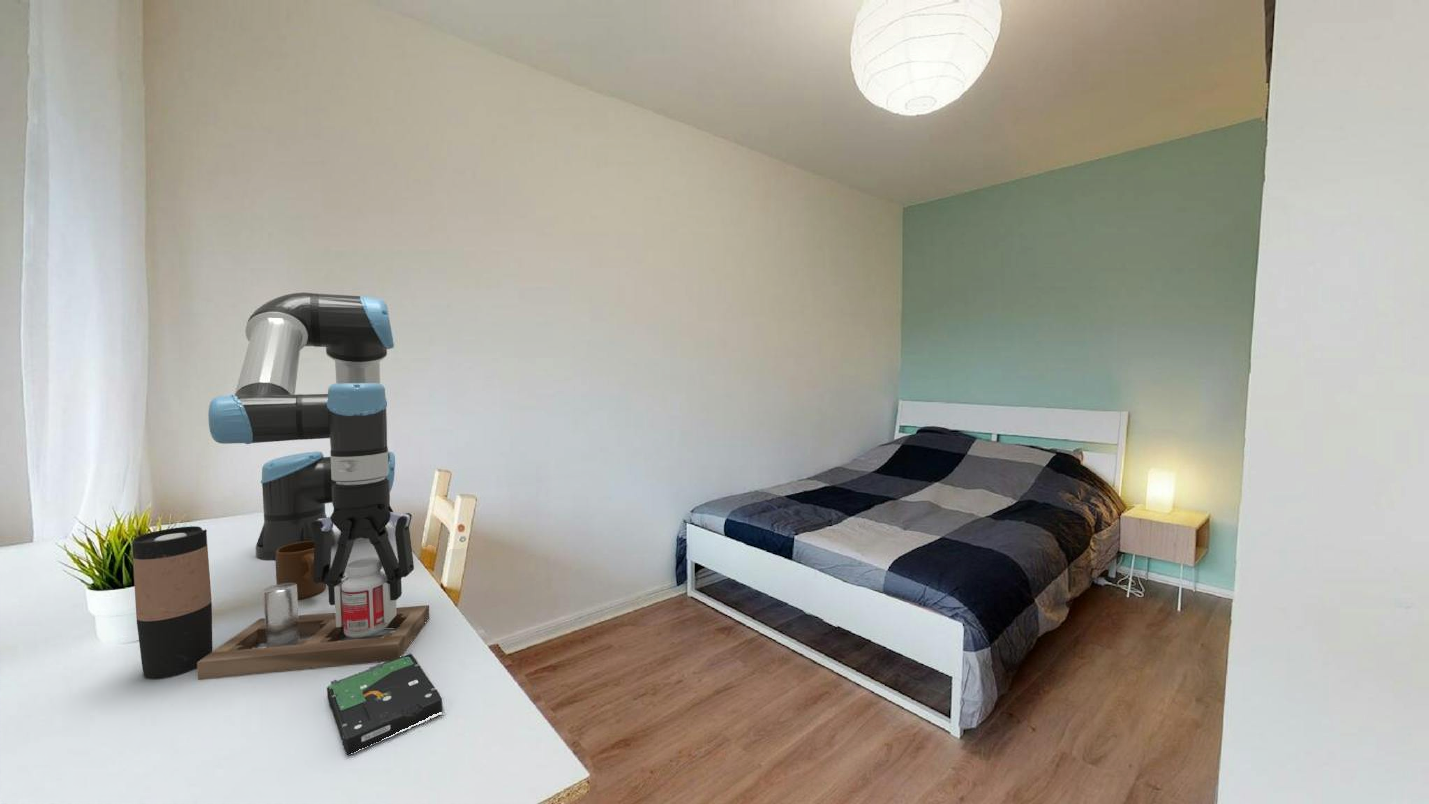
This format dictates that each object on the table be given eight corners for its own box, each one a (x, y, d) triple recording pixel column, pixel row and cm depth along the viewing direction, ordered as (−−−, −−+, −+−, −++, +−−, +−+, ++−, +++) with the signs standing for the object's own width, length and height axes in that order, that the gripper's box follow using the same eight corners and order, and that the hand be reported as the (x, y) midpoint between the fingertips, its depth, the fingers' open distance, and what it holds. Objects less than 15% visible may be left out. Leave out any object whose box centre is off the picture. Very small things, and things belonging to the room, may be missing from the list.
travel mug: (124, 684, 71) (114, 544, 70) (167, 655, 78) (158, 528, 77) (192, 675, 73) (183, 539, 72) (227, 647, 80) (219, 524, 79)
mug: (341, 596, 98) (339, 549, 98) (292, 611, 92) (289, 561, 92) (319, 581, 105) (317, 537, 105) (272, 594, 99) (269, 548, 99)
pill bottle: (385, 616, 86) (382, 552, 86) (394, 629, 82) (391, 562, 81) (340, 629, 82) (337, 562, 81) (347, 643, 77) (344, 573, 77)
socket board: (261, 632, 85) (260, 618, 85) (429, 618, 90) (428, 605, 90) (198, 679, 72) (196, 662, 72) (398, 659, 77) (397, 643, 77)
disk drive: (445, 718, 65) (411, 669, 75) (444, 697, 65) (411, 651, 75) (347, 762, 58) (325, 701, 68) (346, 739, 57) (324, 681, 68)
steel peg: (277, 644, 81) (274, 583, 81) (305, 641, 82) (302, 581, 82) (260, 658, 77) (256, 594, 77) (290, 655, 78) (286, 592, 78)
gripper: (276, 487, 75) (284, 638, 76) (417, 482, 79) (422, 626, 80) (307, 477, 82) (313, 615, 84) (434, 472, 86) (439, 605, 87)
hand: (367, 620), depth 82 cm, fingers closed on pill bottle, 6 cm apart
